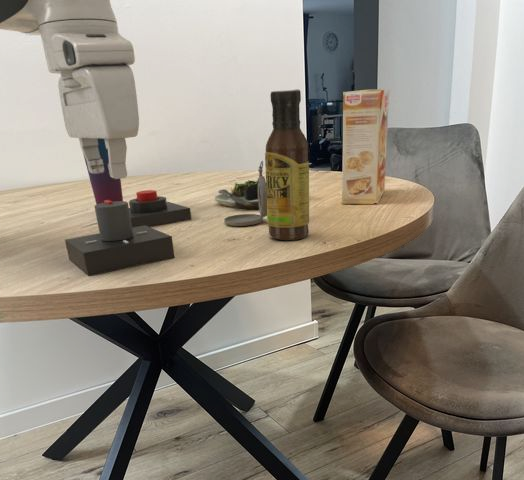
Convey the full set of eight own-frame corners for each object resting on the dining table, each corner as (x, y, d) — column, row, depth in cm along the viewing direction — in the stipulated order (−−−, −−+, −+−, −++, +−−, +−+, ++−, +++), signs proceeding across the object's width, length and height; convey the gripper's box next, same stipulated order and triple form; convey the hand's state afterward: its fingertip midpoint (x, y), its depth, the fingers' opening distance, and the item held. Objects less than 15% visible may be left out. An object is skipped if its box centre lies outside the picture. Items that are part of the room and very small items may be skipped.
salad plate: (191, 205, 108) (188, 182, 106) (252, 192, 119) (251, 171, 117) (253, 214, 95) (251, 188, 93) (316, 198, 106) (315, 175, 104)
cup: (88, 217, 102) (71, 136, 96) (105, 210, 108) (90, 134, 102) (118, 217, 101) (104, 134, 94) (134, 210, 106) (121, 132, 100)
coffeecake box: (378, 204, 96) (382, 88, 88) (340, 204, 98) (341, 91, 90) (386, 191, 109) (390, 88, 100) (352, 191, 111) (354, 91, 103)
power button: (141, 204, 91) (140, 194, 90) (135, 201, 94) (133, 192, 93) (160, 201, 93) (159, 191, 92) (153, 199, 96) (152, 189, 95)
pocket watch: (217, 224, 89) (211, 163, 84) (254, 216, 93) (250, 158, 89) (246, 231, 83) (241, 166, 78) (284, 221, 87) (282, 159, 83)
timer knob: (138, 237, 70) (132, 201, 68) (106, 243, 68) (99, 206, 66) (127, 232, 73) (121, 197, 71) (96, 237, 71) (89, 202, 69)
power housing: (128, 231, 88) (124, 207, 86) (111, 222, 96) (107, 201, 94) (191, 220, 94) (189, 197, 92) (170, 213, 102) (167, 192, 100)
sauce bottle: (260, 237, 78) (251, 92, 70) (292, 230, 81) (287, 90, 73) (286, 244, 74) (279, 89, 65) (319, 236, 77) (317, 87, 68)
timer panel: (88, 276, 65) (83, 251, 64) (69, 260, 73) (64, 238, 72) (174, 257, 71) (171, 234, 69) (148, 244, 78) (145, 224, 77)
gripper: (39, 64, 68) (64, 173, 74) (79, 43, 52) (107, 185, 58) (87, 62, 71) (107, 168, 77) (138, 42, 55) (159, 177, 61)
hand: (107, 175), depth 67 cm, fingers open, 8 cm apart
